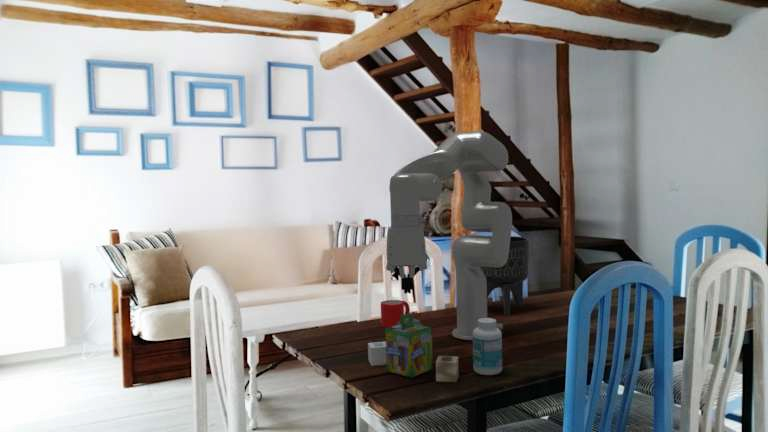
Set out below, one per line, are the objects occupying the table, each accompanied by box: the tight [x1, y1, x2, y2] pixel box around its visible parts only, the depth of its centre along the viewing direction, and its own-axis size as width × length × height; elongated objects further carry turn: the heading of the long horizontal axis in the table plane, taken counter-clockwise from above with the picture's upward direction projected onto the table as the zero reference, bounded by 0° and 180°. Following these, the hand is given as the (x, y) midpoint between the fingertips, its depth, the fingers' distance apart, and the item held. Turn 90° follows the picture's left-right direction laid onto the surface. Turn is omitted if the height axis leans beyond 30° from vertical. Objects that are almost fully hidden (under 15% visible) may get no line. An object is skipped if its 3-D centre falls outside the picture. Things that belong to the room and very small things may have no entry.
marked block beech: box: [435, 355, 460, 383], centre depth 150 cm, size 5×5×5 cm
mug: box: [380, 299, 411, 329], centre depth 206 cm, size 8×12×8 cm, turn 135°
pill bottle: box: [472, 317, 503, 376], centre depth 154 cm, size 8×7×14 cm
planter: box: [480, 235, 530, 317], centre depth 220 cm, size 20×20×26 cm
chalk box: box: [384, 312, 434, 379], centre depth 157 cm, size 9×9×15 cm
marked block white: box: [367, 341, 387, 367], centre depth 165 cm, size 5×5×5 cm
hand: (407, 292), depth 155 cm, fingers closed
